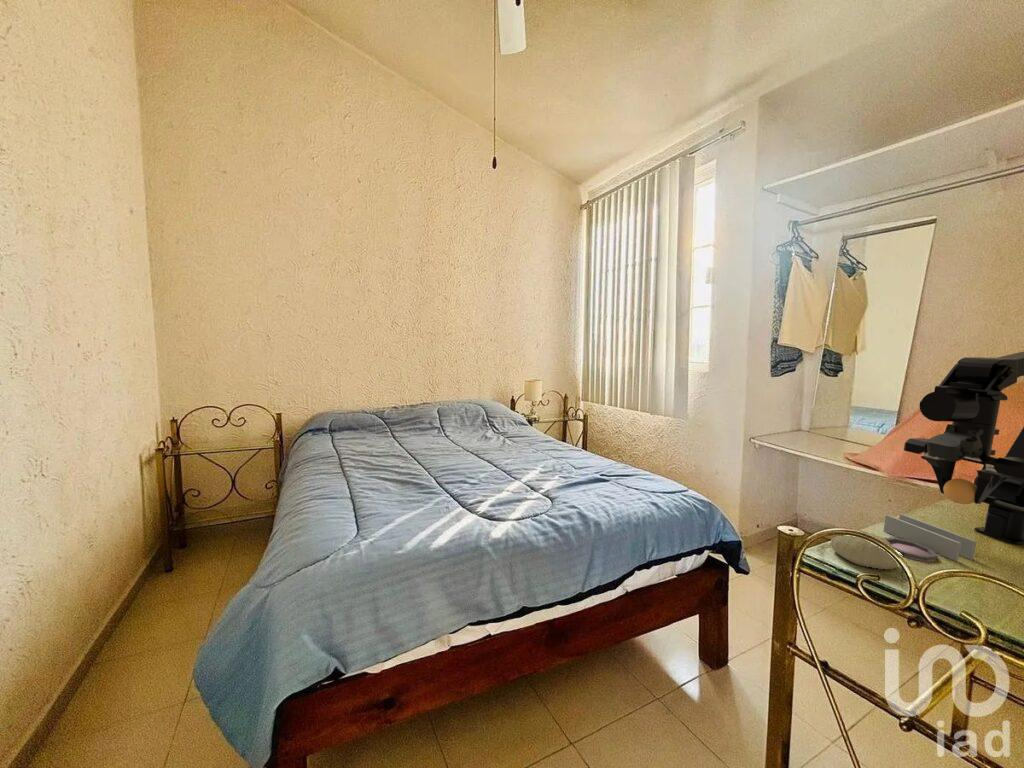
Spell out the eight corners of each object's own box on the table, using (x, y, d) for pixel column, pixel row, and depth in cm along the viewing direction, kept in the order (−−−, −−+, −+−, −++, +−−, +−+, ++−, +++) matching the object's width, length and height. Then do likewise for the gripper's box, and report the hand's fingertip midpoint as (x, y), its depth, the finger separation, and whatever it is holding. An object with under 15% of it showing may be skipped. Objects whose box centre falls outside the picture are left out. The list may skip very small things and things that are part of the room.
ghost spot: (900, 539, 84) (900, 536, 84) (947, 559, 76) (947, 555, 76) (871, 542, 82) (871, 538, 82) (916, 563, 75) (917, 559, 74)
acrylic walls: (899, 529, 89) (902, 513, 88) (973, 559, 77) (976, 541, 77) (883, 531, 88) (885, 515, 87) (955, 561, 76) (958, 543, 76)
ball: (952, 498, 87) (956, 474, 86) (984, 507, 82) (988, 483, 82) (934, 499, 86) (939, 475, 85) (966, 509, 81) (970, 484, 80)
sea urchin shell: (846, 532, 82) (885, 516, 76) (875, 574, 77) (918, 561, 71) (815, 538, 78) (853, 522, 73) (843, 582, 74) (886, 569, 68)
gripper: (890, 412, 89) (879, 483, 91) (1012, 433, 71) (995, 520, 73) (928, 413, 92) (916, 481, 94) (1055, 433, 74) (1037, 517, 76)
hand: (960, 498), depth 84 cm, fingers closed on ball, 5 cm apart
